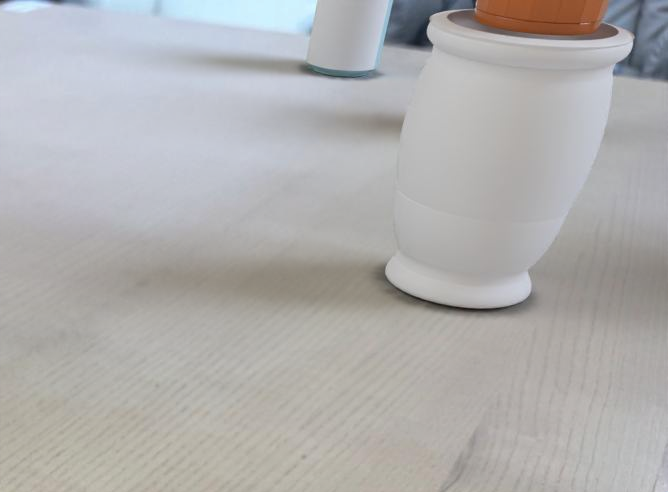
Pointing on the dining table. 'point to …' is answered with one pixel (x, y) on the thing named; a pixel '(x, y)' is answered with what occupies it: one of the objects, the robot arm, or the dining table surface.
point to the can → (348, 36)
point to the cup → (542, 16)
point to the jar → (495, 155)
